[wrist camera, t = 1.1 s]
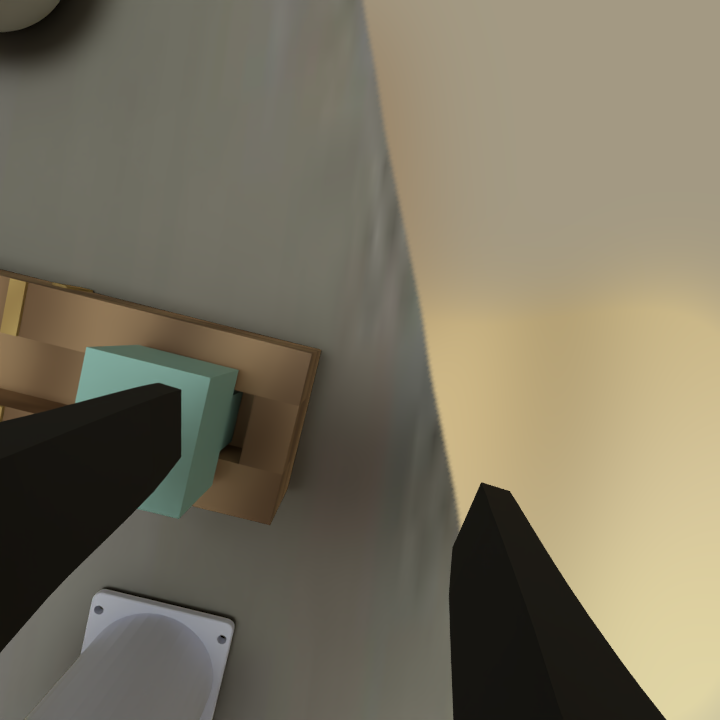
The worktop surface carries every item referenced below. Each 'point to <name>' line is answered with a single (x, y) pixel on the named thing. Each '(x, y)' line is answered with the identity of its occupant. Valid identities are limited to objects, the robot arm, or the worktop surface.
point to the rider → (198, 412)
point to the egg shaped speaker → (23, 13)
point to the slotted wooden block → (174, 335)
